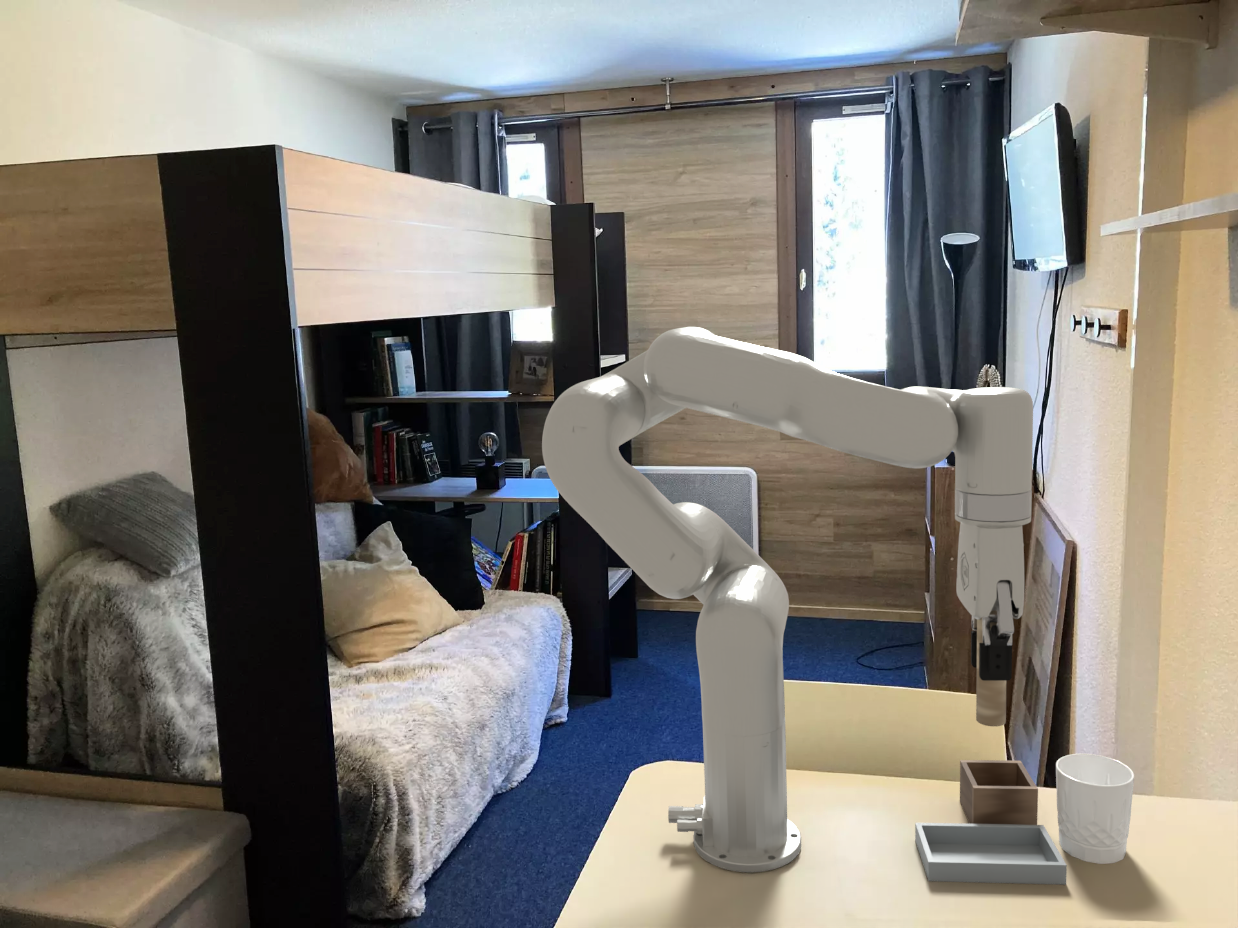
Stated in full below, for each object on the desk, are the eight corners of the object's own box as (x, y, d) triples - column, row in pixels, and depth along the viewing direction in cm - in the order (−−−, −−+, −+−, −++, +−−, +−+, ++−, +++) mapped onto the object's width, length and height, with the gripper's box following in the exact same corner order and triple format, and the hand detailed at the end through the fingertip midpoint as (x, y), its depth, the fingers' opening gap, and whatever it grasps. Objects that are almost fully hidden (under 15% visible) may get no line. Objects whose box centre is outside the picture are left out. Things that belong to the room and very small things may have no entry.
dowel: (979, 726, 106) (980, 618, 104) (973, 714, 109) (974, 610, 107) (1008, 726, 106) (1010, 618, 104) (1001, 714, 109) (1003, 609, 107)
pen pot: (973, 835, 116) (973, 787, 115) (959, 804, 123) (960, 759, 122) (1036, 836, 115) (1037, 788, 115) (1019, 805, 123) (1020, 760, 122)
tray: (928, 885, 107) (928, 861, 107) (915, 844, 115) (915, 822, 115) (1066, 889, 105) (1066, 864, 105) (1042, 847, 113) (1043, 824, 113)
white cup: (1140, 873, 107) (1143, 787, 106) (1062, 868, 109) (1064, 783, 107) (1119, 835, 115) (1122, 754, 113) (1047, 831, 117) (1049, 751, 115)
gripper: (940, 492, 112) (939, 647, 115) (973, 523, 96) (972, 703, 99) (1008, 490, 111) (1006, 646, 114) (1054, 522, 95) (1050, 703, 98)
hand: (990, 671), depth 107 cm, fingers closed on dowel, 3 cm apart
